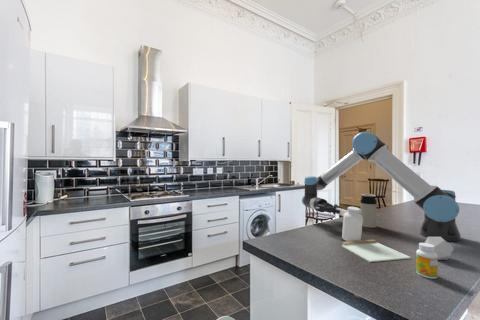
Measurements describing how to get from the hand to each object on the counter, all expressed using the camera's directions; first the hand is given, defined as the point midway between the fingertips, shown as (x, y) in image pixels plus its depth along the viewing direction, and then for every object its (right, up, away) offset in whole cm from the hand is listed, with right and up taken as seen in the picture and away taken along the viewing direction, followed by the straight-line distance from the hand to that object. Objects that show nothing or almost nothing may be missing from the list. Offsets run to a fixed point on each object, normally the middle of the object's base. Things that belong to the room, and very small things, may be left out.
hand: (345, 213), depth 109 cm
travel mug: (+23, -13, +22) cm, 34 cm away
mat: (+4, -12, -16) cm, 21 cm away
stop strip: (+2, -12, -8) cm, 14 cm away
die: (+25, -12, -22) cm, 35 cm away
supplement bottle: (+10, -12, -35) cm, 38 cm away
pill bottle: (+1, -12, -3) cm, 12 cm away
